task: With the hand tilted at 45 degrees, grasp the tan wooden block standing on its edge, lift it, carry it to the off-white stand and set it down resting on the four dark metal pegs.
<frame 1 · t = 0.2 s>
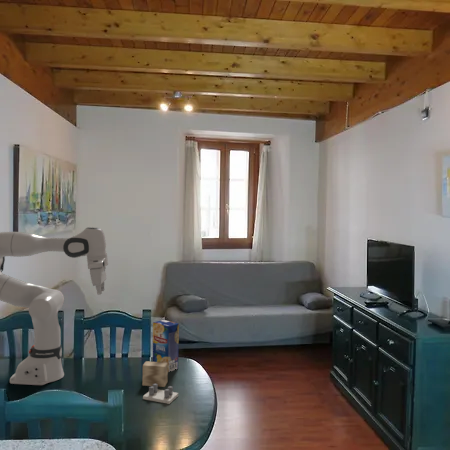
hand: (101, 292, 196), 39 cm above the table, tool pointing down, fingers open, 8 cm apart
beverage box: (165, 368, 209), on the table
tan wooden block: (155, 383, 190), on the table
peg stand: (160, 397, 176), on the table
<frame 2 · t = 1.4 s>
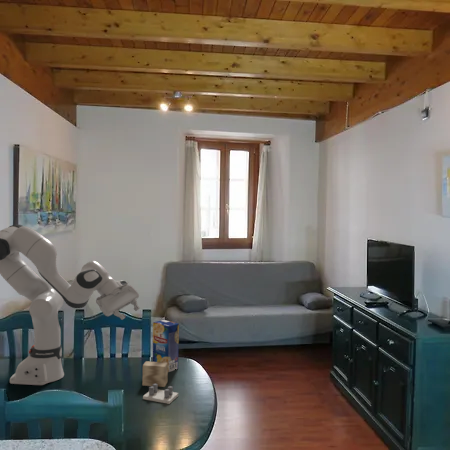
hand: (131, 313, 187), 31 cm above the table, tool tilted 45°, fingers open, 8 cm apart
nothing on the table moved.
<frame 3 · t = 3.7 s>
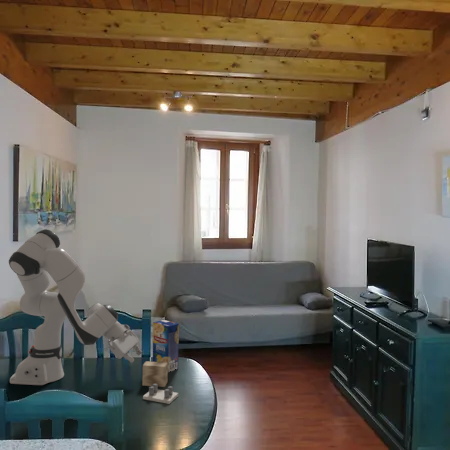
hand: (137, 357, 189), 12 cm above the table, tool tilted 45°, fingers open, 8 cm apart
nothing on the table moved.
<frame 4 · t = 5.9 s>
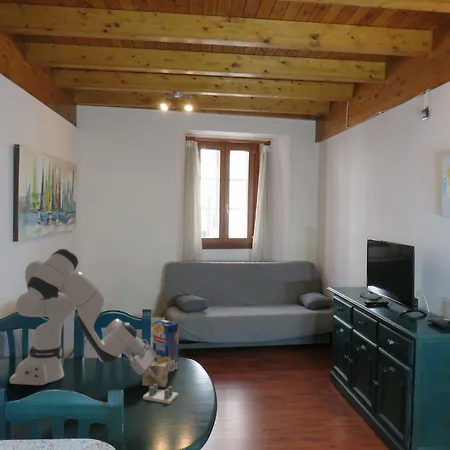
hand: (156, 372, 190), 5 cm above the table, tool tilted 45°, fingers closed on tan wooden block, 5 cm apart
tan wooden block: (155, 383, 190), on the table, touching gripper
everything else where it was.
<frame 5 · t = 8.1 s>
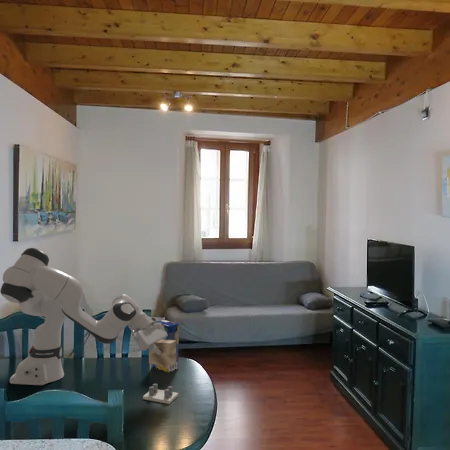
hand: (163, 351, 178), 18 cm above the table, tool tilted 45°, fingers closed on tan wooden block, 5 cm apart
tan wooden block: (162, 362, 178), point 13 cm above the table, touching gripper
everything else where it was.
when the fingers open (10 cm above the table, at t = 10.2 s): tan wooden block stays where it is, resting on peg stand.
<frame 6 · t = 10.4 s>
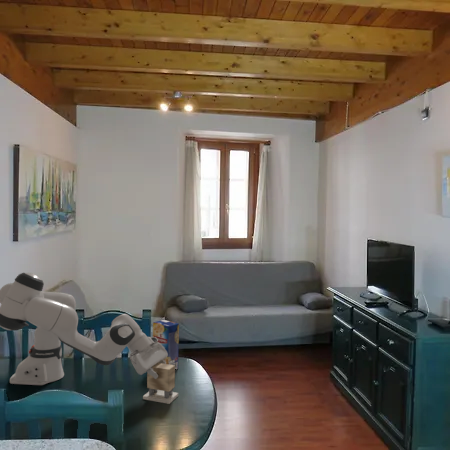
hand: (162, 374, 176), 10 cm above the table, tool tilted 45°, fingers open, 7 cm apart
tan wooden block: (161, 387, 176), point 4 cm above the table, touching peg stand
everything else where it was.
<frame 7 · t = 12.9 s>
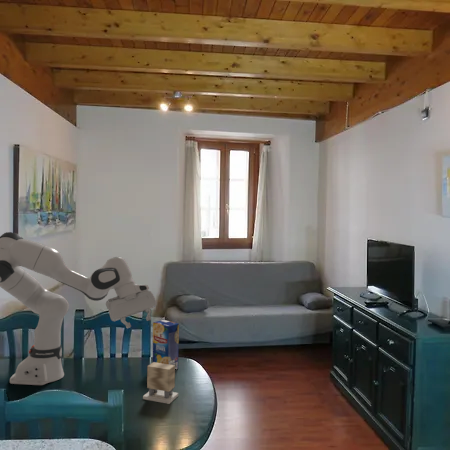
hand: (139, 323, 178), 30 cm above the table, tool tilted 30°, fingers open, 8 cm apart
nothing on the table moved.
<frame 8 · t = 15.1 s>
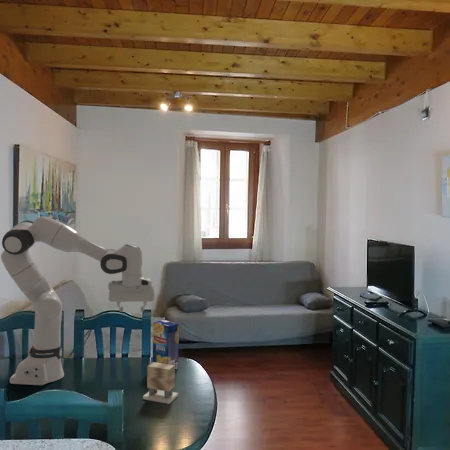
hand: (131, 311, 193), 31 cm above the table, tool pointing down, fingers open, 8 cm apart
nothing on the table moved.
at the end: tan wooden block 0.1 cm off-centre on the peg stand, point 4.2 cm above the peg stand's base; tan wooden block tilted 0°; the gripper is holding nothing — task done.
